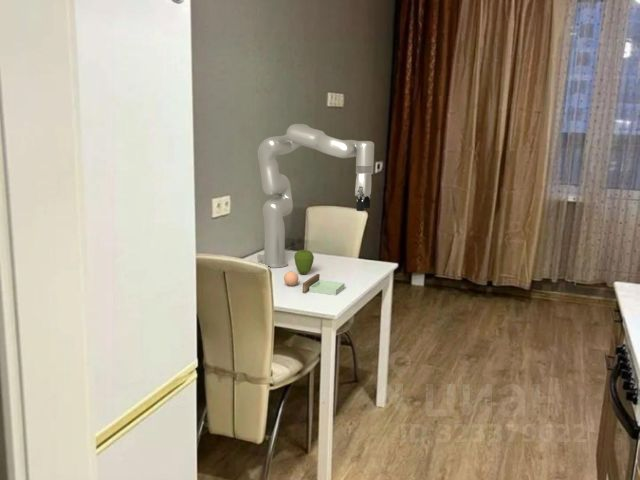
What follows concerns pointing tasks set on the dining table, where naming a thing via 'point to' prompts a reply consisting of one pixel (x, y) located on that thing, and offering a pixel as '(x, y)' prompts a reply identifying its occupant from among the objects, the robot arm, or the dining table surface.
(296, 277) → the ball
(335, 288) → the tray
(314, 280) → the board
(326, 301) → the dining table surface
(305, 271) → the apple
